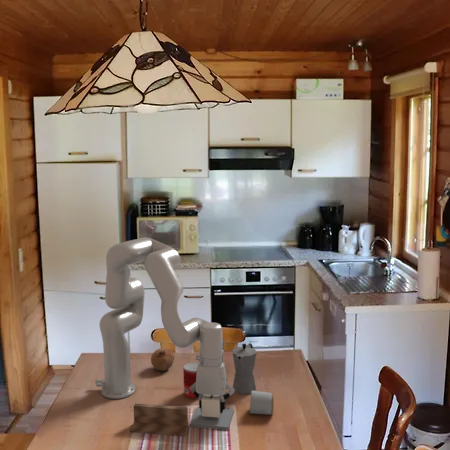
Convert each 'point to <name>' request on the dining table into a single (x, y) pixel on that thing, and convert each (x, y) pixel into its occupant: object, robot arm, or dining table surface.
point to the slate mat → (212, 420)
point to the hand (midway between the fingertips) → (212, 410)
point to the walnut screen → (160, 419)
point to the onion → (162, 359)
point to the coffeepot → (244, 369)
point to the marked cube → (211, 406)
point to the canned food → (189, 378)
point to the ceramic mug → (261, 403)
